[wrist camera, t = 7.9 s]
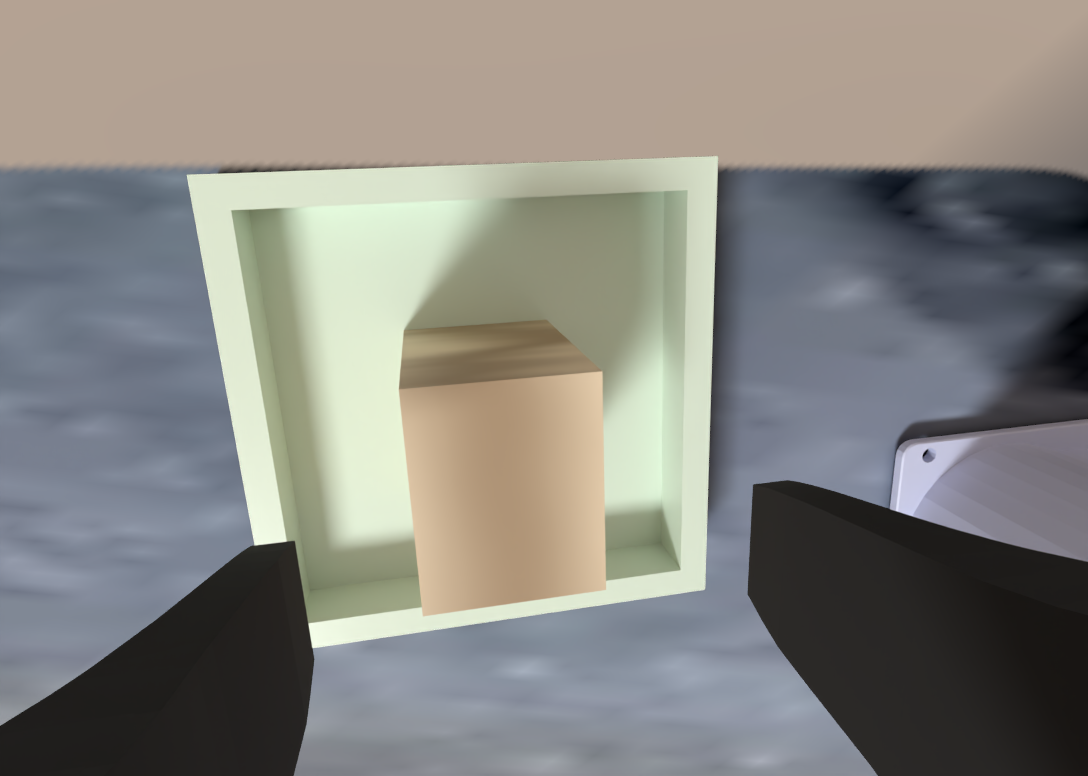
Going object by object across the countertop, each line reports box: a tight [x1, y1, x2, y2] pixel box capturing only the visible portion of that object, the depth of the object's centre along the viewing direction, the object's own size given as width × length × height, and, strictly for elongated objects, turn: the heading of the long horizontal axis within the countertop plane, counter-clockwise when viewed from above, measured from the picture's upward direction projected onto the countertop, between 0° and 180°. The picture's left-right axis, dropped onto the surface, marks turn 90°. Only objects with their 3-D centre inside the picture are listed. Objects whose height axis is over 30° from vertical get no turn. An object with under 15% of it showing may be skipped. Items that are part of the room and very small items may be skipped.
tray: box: [187, 156, 718, 648], centre depth 19 cm, size 13×13×2 cm
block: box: [399, 320, 606, 616], centre depth 17 cm, size 4×5×6 cm
